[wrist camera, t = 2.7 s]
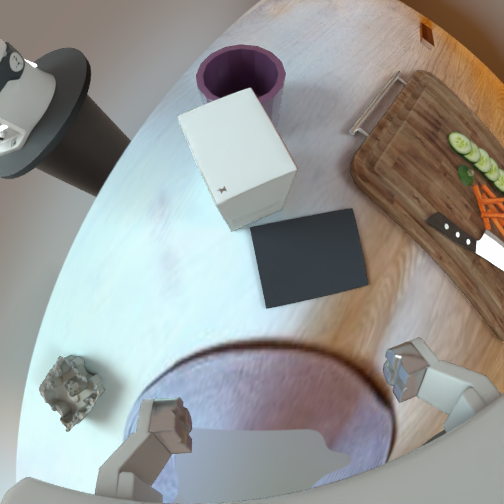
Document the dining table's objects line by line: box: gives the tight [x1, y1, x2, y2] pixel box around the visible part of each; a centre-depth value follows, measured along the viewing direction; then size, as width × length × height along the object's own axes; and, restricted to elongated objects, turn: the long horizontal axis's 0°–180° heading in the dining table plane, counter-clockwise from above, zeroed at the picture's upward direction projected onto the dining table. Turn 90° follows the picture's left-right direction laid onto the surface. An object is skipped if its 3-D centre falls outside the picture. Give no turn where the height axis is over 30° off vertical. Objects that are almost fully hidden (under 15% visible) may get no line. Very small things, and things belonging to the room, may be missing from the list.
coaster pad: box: [250, 208, 368, 308], centre depth 31 cm, size 12×9×1 cm
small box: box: [178, 88, 298, 232], centre depth 25 cm, size 8×6×13 cm
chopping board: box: [349, 70, 504, 341], centre depth 30 cm, size 45×27×3 cm, turn 51°
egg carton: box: [39, 355, 105, 432], centre depth 29 cm, size 11×8×4 cm
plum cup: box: [196, 45, 286, 128], centre depth 28 cm, size 9×9×9 cm
